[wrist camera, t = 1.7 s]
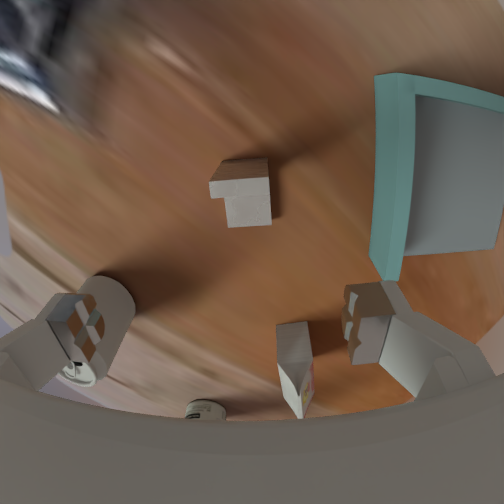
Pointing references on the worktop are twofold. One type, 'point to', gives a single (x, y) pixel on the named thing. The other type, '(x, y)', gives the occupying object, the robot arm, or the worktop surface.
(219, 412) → the spray can
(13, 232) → the worktop surface
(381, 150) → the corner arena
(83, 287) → the can
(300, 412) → the milk carton
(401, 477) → the robot arm
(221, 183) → the bracket
